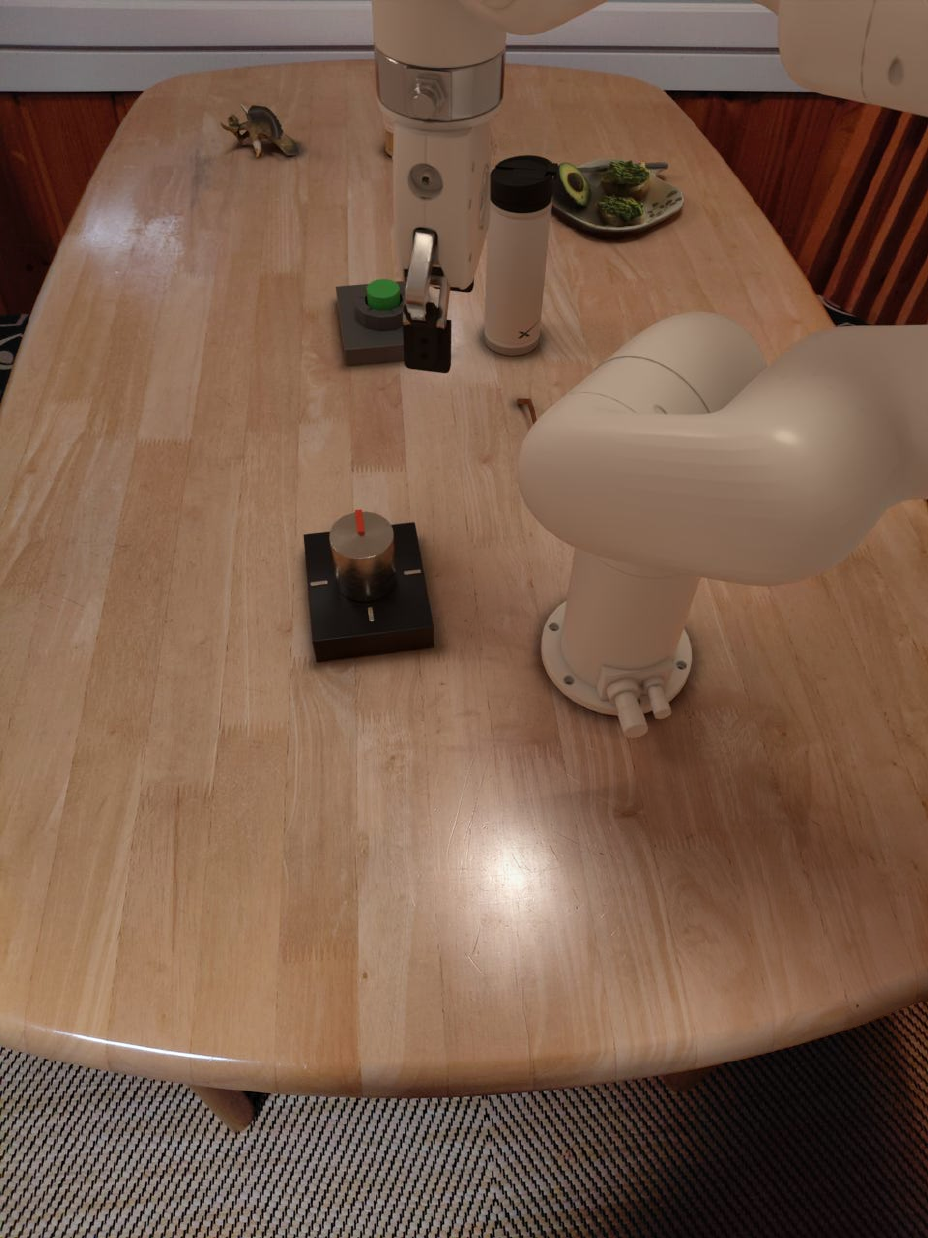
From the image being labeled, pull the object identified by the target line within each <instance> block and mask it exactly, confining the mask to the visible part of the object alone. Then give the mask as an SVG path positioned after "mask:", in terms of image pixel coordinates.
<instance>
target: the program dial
mask: <svg viewBox="0 0 928 1238" xmlns="http://www.w3.org/2000/svg"><path fill="white" fill-rule="evenodd" d="M391 525H392V524H391V522H390V521H389V520H388V519H386V517H384V516H383V515H380V514H378V513H375V512H372V511H363V510H362V508H361V509H355V510H354V512H351V513H348V514H346V515H343V516H342V517H340V518H339V519H337V520H336V521H335V522H334V523H333V525H332V526H331V528H330V530H329V532H330V534H329V540H330V546H331V553H332V560H333V566H334V573H335V580H336V585H337V587H338V589H339V591H340V592H341V593H342V594H343V595H344V596H346V597H347V598H349V599H352V600H355V601H360V602H369V601H374V600H378V599H380V598H382V597H384V596H386V595H387V594H388V593H389V592H390V591H391V590H392V589H393V587H394V586H395V583H396V578H397V576H396V561H395V546H394V532H393V528H392V526H391Z"/></svg>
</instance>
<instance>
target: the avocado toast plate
mask: <svg viewBox="0 0 928 1238" xmlns="http://www.w3.org/2000/svg"><path fill="white" fill-rule="evenodd" d="M668 168H669V164H668V163H667V162H666V161H665V162H663V161H657V162H655V161H654V162H646V161H644V160H642V161H641V162H639V163H637V162H636V163H634V161H633V160H632V159H629V160H624V159H617V158H608V157H605V158H597V159H594V160H591V161H588V162H585V163H583V164H581V165H579V166H575V165H574V164H572V163H571V162H566V161H565V162H562V163H560V164H558V170H559V173H558V176H557V178H556V179H554V175H553V190H552V205H551V206H552V207H551V214H553V215H554V216H555V217H556V218H558V219H559V220H560V221H561V222H563V223H564V224H565V225H567V226H568V227H570V228H571V229H573V230H575V231H577V232H578V233H581V234H583V235H584V236H585V235H586V236H589V237H592V238H595V239H599V240H609V241H610V240H619V239H620V240H621V239H624V238H628V237H631V236H636V235H638V234H640V233H643V232H645V231H646V230H648V229H650V228H652V227H653V226H656V225H657V224H660V223H662V222H664V221H665V220H667V219H668V218H670V217H671V216H672V215H674V214H676V213H678V212H679V211H680V210H681V209H682V208H683V206H684V204H685V200H684V199H685V198H684V194H683V192H682V191H681V190H680V189H679V188H678V187H676V186H675V185H672V184H671V183H669V182H668V181H665V180H663V179H662V178H659V177H658V176H657V175H658V174H660V173H662V172H664V171H666V170H668Z"/></svg>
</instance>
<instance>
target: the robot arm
mask: <svg viewBox="0 0 928 1238" xmlns="http://www.w3.org/2000/svg"><path fill="white" fill-rule="evenodd" d="M609 1H610V0H371V13H372V15H371V16H372V29H373V31H372V32H373V52H374V72H375V73H374V74H375V90H376V91H375V92H376V105H377V107H378V110H379V111H380V112H381V114H382V115H383V116H384V115H385V116H386V117H387V118H389V119H390V120H392V121H394V131H393V157H392V156H391V160H392V195H393V198H392V200H393V202H392V204H393V205H392V206H393V232H394V233H393V234H394V239H393V240H394V255H395V265H396V271H397V275H398V277H399V278H400V280H401V281H403V282H405V283H406V288H405V301H404V309H403V340H404V361H403V362H404V366H405V368H406V369H408V370H414V371H415V370H416V371H422V372H423V371H424V372H430V373H431V372H432V373H439V374H448V373H450V371H451V368H452V367H451V366H452V319H448V312H449V303H450V302H449V301H450V296H451V295H450V294H451V292H457V293H468V294H469V293H472V292H473V290H474V287H475V275H476V273H477V270H478V267H479V263H480V259H481V256H482V252H483V249H484V245H485V242H486V238H487V236H488V227H489V221H490V177H491V172H492V170H491V167H492V165H491V163H492V161H491V159H492V155H491V154H492V153H491V152H492V151H491V150H492V145H491V144H492V125H491V124H492V122H491V121H493V119H495V118H496V117H498V115H499V114H500V113H501V111H502V110H503V107H504V93H505V78H506V77H505V75H506V60H507V59H506V57H507V34H510V35H516V36H535V35H539V34H543V33H547V32H550V31H551V30H555V29H556V28H559V27H560V26H562V25H565V24H567V23H568V22H570V21H572V20H574V19H576V18H578V17H580V16H582V15H584V14H585V13H588V12H590V11H592V10H594V9H596V8H597V7H599V6H601V5H603V4H605V3H607V2H609ZM751 1H752V2H754V3H756V4H758V5H761V6H763V7H764V8H766V9H767V10H768V11H770V12H772V13H773V14H775V15H776V17H777V44H778V50H779V56H780V61H781V64H782V66H783V67H784V70H785V72H786V73H787V75H788V77H789V78H790V80H792V81H793V82H794V83H795V84H796V85H797V86H799V88H802V89H804V90H807V91H810V92H814V93H817V94H821V95H825V96H830V97H836V98H839V99H845V100H849V101H854V102H858V103H863V104H866V105H871V106H879V107H881V108H886V109H890V110H895V111H899V112H904V113H907V114H912V115H917V116H920V117H925V118H928V0H751ZM430 288H433V289H434V290H439V293H438V302H437V305H436V304H435V302H433V301H430V297H431V295H430ZM516 478H517V483H518V484H517V485H518V489H519V492H520V495H521V497H522V500H523V501H524V504H525V506H526V508H527V509H528V511H529V512H530V513H531V515H532V516H533V517H534V518H535V519H536V521H537V523H539V524H540V526H542V527H543V528H544V529H545V530H547V531H548V532H549V533H550V534H551V535H553V536H555V537H556V538H557V539H559V540H561V541H562V542H563V543H565V544H567V545H569V546H571V547H573V548H574V553H573V558H572V564H571V572H570V577H569V583H568V589H567V596H566V600H564V601H562V603H560V604H559V605H558V606H557V607H555V609H554V610H553V611H552V612H551V614H550V615H549V617H548V618H547V620H546V623H545V624H544V625H543V631H542V635H541V641H540V642H541V644H540V653H541V661H542V663H543V666H544V669H545V672H546V674H547V675H548V677H549V678H550V680H551V682H552V683H553V685H554V686H555V687H556V688H557V689H558V690H559V691H560V692H561V693H562V694H563V695H564V696H566V697H567V698H569V700H571V701H572V702H574V703H575V704H578V705H579V706H582V707H584V708H586V709H587V710H591V711H593V712H597V713H600V714H604V715H609V716H617V717H618V721H619V724H620V727H621V730H622V734H623V736H624V737H625V738H627V739H636V738H639V737H642V736H645V734H647V733H648V732H649V727H648V722H647V720H646V718H645V715H644V714H648V713H650V712H652V714H653V717H654V718H655V719H657V720H663V719H666V718H668V717H669V716H671V715H672V709H671V706H670V704H669V703H670V702H671V701H672V700H673V699H674V698H675V697H677V696H678V695H679V693H680V692H681V691H682V689H683V687H684V686H685V684H686V683H687V680H688V678H689V675H690V673H691V668H692V664H693V648H692V644H691V640H690V637H689V634H688V633H687V631H686V629H685V625H686V623H687V620H688V617H689V614H690V611H691V608H692V605H693V603H694V599H695V596H696V593H697V590H698V587H699V584H700V581H701V578H703V579H709V580H714V581H720V582H724V583H730V584H737V585H743V586H752V587H777V586H785V585H790V584H791V585H792V584H797V583H800V582H804V581H807V580H810V579H813V578H816V577H818V576H820V575H823V574H825V573H826V572H828V571H830V570H832V569H833V568H834V567H836V566H838V565H839V564H841V562H843V561H845V560H846V558H847V557H848V556H849V555H850V554H852V553H853V552H854V551H855V550H856V549H857V547H858V546H860V544H861V543H862V542H863V541H864V540H865V538H866V537H867V536H868V535H869V533H870V532H871V531H872V530H873V528H874V527H875V526H876V524H878V522H879V521H880V520H881V518H882V517H883V516H884V514H885V513H886V512H887V511H888V510H889V509H891V508H893V507H894V506H896V505H898V504H901V503H903V502H908V501H915V500H917V501H918V500H928V324H901V325H900V324H899V325H894V324H893V325H845V326H834V327H828V328H823V329H819V330H816V331H814V332H811V333H808V334H807V335H805V336H803V337H802V338H799V340H797V341H796V342H794V343H793V344H791V345H790V346H789V347H788V348H786V349H785V350H784V351H783V352H782V353H780V355H778V356H777V357H776V358H775V359H774V360H772V361H771V362H770V363H769V364H767V361H766V357H765V355H764V352H763V351H762V349H761V347H760V345H759V344H758V342H757V340H756V339H755V337H753V335H752V334H751V333H750V332H749V331H748V330H747V329H746V328H745V327H743V325H741V324H740V323H739V322H737V321H736V320H733V319H732V318H730V317H728V316H725V315H723V314H720V313H717V312H712V311H703V310H702V311H701V310H693V311H692V310H691V311H684V312H680V313H676V314H673V315H670V316H666V317H665V318H663V319H660V320H658V321H656V322H655V323H653V324H651V325H649V326H648V327H646V328H645V329H643V330H641V331H640V332H638V333H637V334H636V335H634V336H633V337H632V338H630V339H629V340H628V341H627V342H626V343H625V344H623V345H622V346H621V347H619V348H618V349H617V350H615V351H614V352H613V353H612V354H610V356H609V357H607V358H606V359H604V361H603V362H601V363H600V364H599V365H597V367H594V369H593V371H591V373H590V374H588V375H587V376H586V377H584V378H583V379H582V380H581V381H579V383H577V384H576V385H575V386H574V387H572V388H571V389H570V390H569V391H568V392H567V393H565V394H564V395H563V396H562V397H560V399H558V400H556V401H555V402H554V404H552V405H551V406H550V407H549V408H548V409H546V411H545V412H543V413H542V414H541V415H540V416H539V417H538V419H537V421H536V422H535V423H534V424H533V423H532V426H531V427H530V428H529V430H528V431H527V433H526V435H525V437H524V439H523V441H522V443H521V445H520V449H519V452H518V456H517V464H516Z"/></svg>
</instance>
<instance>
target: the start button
mask: <svg viewBox="0 0 928 1238" xmlns="http://www.w3.org/2000/svg"><path fill="white" fill-rule="evenodd" d="M396 282H397V281H395V280H392V279H388V278H379V279H375V280H372V281H371V282H370V283H368V284H369V285H368V286H367V300H368V305H369V306H370V307H371V308H372V309H376V310H380V311H383V310H391V309H394V308H396V307H398V306H399V304H400V288H399V285H398V284H397V283H396Z"/></svg>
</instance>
